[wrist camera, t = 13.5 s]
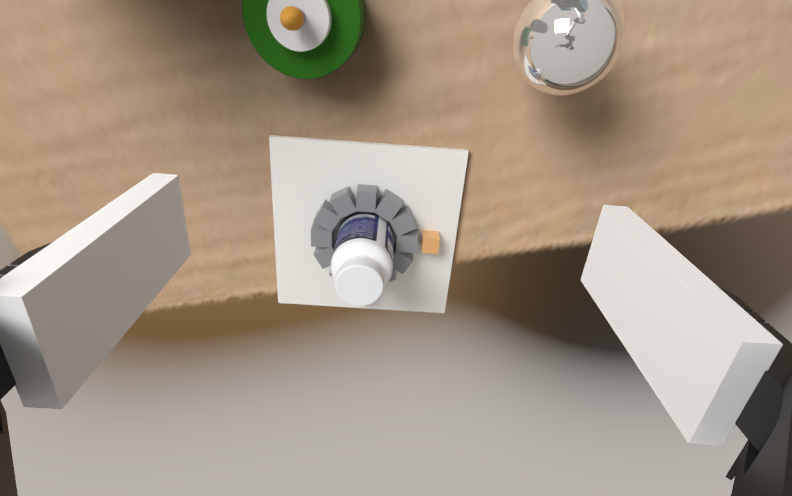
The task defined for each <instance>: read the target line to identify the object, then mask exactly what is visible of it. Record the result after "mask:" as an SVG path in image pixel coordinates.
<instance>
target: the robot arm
mask: <svg viewBox="0 0 792 496" xmlns="http://www.w3.org/2000/svg"><path fill="white" fill-rule="evenodd" d="M190 255H191V254H190V247H189V241H188V234H187V228H186V221H185V214H184V208H183V201H182V195H181V188H180V181H179V175H172V174H158V173H153V174H151V175H150V176H148V177H147V178H145V179H144V180H142V181H141V182H139V183H138V184H137V185H135V186H134V187H132V188H131V189H129V190H128V191H126V192H125V193H124V194H122V195H121V196H119V197H118V198H116V199H115V200H113V201H112V202H110V203H109V204H108V205H106V206H105V207H103V208H102V209H100V210H99V211H97V212H96V213H94V214H93V215H92V216H90V217H89V218H87V219H86V220H84V221H83V222H81V223H80V224H79V225H77V226H76V227H74V228H73V229H71V230H70V231H68V232H67V233H65V234H64V235H63V236H61V237H60V238H58V239H57V240H55V241H54V242H52V243H49V244H47V245H44V246H42V247H39V248H37V249H34V250H32V251H29V252H27V253H26V254H24V255H23V256H21V257H20V258H18V259H17V260H15V261H14V262H12V263H11V265H10V266H6V267H5V268H3V269H2V270H0V496H18V495H17V488H16V481H15V473H14V466H13V460H12V453H11V446H10V438H9V431H8V424H7V417H6V412H5V409H4V407H3V405H2V403H1V399H2V397H3V396H4V395H6V393H8V392H9V390H10V389H12V387H14V386H16V389H17V391H18V394H19V396H20V398H21V401H22V403H23V406H24V407H35V408H53V409H63V407H64V406H65V405H66V404H67V403H68V401H69V400H70V399H71V398H72V396H73V395H74V394H75V393H76V392H77V390H78V389H79V388H80V387H81V386H82V384H83V383H84V382H85V381H86V380H87V379H88V377H89V376H90V375H91V374H92V372H93V371H94V370H95V369H96V368H97V366H98V365H99V364H100V363H101V362H102V360H103V359H104V358H105V357H106V356H107V354H108V353H109V352H110V351H111V350H112V348H113V347H114V346H115V345H116V343H117V342H118V341H119V340H120V339H121V337H122V336H123V335H124V334H125V333H126V331H127V330H128V329H129V328H130V327H131V326H132V324H133V323H134V322H135V321H136V320H137V318H138V317H139V316H140V315H141V314H142V312H143V311H144V310H145V309H146V307H147V306H148V305H149V304H150V303H151V301H152V300H153V299H154V298H155V297H156V295H157V294H158V293H159V292H160V291H161V289H162V288H163V287H164V286H165V285H166V283H167V282H168V281H169V280H170V279H171V277H172V276H173V275H174V274H175V273H176V271H177V270H178V269H179V268H180V267H181V265H182V264H183V263H184V262H185V261H186V259H187V258H188V257H189V256H190ZM581 281H582V282H583V284H584V286H585V287H586V289H587V290H588V292H589V293H590V295H591V296H592V298H593V299H594V301H595V302H596V304H597V306H598V307H599V309H600V310H601V312H602V313H603V315H604V316H605V318H606V319H607V321H608V322H609V324H610V325H611V327H612V328H613V330H614V331H615V333H616V334H617V336H618V337H619V339H620V340H621V342H622V343H623V345H624V346H625V348H626V349H627V351H628V353H629V354H630V356H631V357H632V359H633V360H634V362H635V363H636V364H637V366H638V368H639V369H640V371H641V372H642V374H643V375H644V377H645V378H646V380H647V381H648V383H649V384H650V386H651V387H652V389H653V390H654V392H655V394H656V395H657V397H658V398H659V399H660V401H661V403H662V404H663V406H664V407H665V409H666V410H667V412H668V413H669V415H670V416H671V418H672V419H673V421H674V422H675V424H676V425H677V427H678V428H679V430H680V431H681V433H682V434H683V436H684V437H685V439H686V441H687V442H688V443H689V444H701V445H719V446H724V444H725V443H726V441H727V439H728V438H729V436H730V434H731V432H732V430H733V429H734V427H735V426H736V425H737V426H738V427H739V429H740V430H741V431H742V432H743V434H744V435H745V436H746V437H747V439H748V441H747V443H746V444H745V446H744V448H743V449H742V451H741V453H740V454H739V456H738V457H737V459H736V461H735V462H734V464H733V465H732V467H731V469H730V470H729V472H728V474H727V475H726V477H727V478H729V479H730V480H732V479H733V478H734V477H735V480H734V485H733V489H732V494H731V496H792V344H791V343H790V342H789V341H788V340H787V339H786V338H784V337H783V336H782V335H781V334H780V333H779V332H778V331H776V330H775V329H774V328H773V327H772V326H771V325H770V324H768V323H765V320H764V319H763V318H761V317H760V316H759V315H758V314H757V313H755V312H752V309H751V308H750V307H749V306H748V305H746V304H745V303H744V302H743V301H742V300H741V299H739V298H738V297H737V296H735V295H733V294H732V293H730V292H728V291H726V290H725V289H723V288H721V287H719V286H717V285H715V284H714V283H713V282H712V281H711V280H710V279H709V278H707V277H706V276H705V275H704V274H703V273H702V272H701V271H700V270H698V269H697V268H696V267H695V266H694V265H693V264H691V263H690V262H689V261H688V260H687V259H686V258H685V257H684V256H683V255H682V254H680V253H679V252H678V251H677V250H676V249H675V248H674V247H672V246H671V245H670V244H669V243H668V242H667V241H666V240H665V239H663V238H662V237H661V236H660V235H659V234H658V233H657V232H656V231H654V230H653V229H652V228H651V227H650V226H649V225H648V224H647V223H645V222H644V221H643V220H642V219H641V218H640V217H639V216H637V215H636V214H635V213H634V212H633V211H632V210H631V209H630V208H628V207H625V206H611V205H603V208H602V211H601V215H600V218H599V221H598V224H597V228H596V231H595V234H594V238H593V241H592V244H591V248H590V251H589V254H588V257H587V261H586V264H585V267H584V271H583V274H582V277H581Z"/></svg>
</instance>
